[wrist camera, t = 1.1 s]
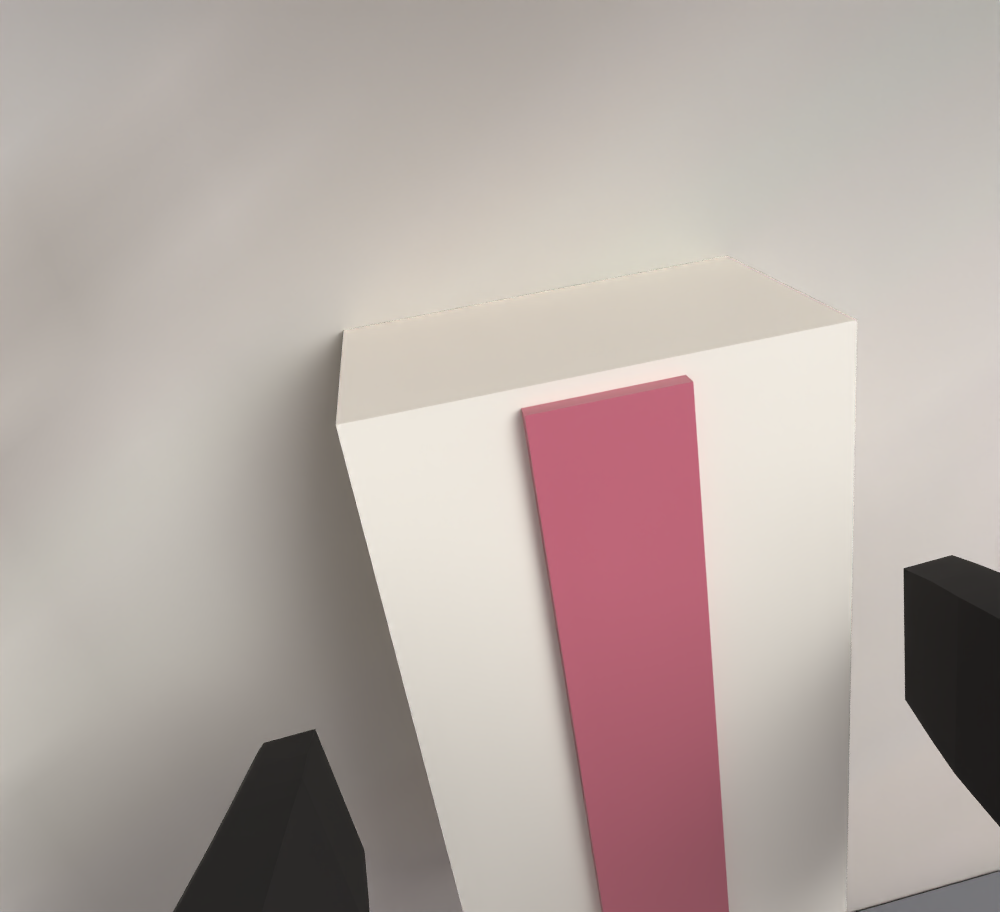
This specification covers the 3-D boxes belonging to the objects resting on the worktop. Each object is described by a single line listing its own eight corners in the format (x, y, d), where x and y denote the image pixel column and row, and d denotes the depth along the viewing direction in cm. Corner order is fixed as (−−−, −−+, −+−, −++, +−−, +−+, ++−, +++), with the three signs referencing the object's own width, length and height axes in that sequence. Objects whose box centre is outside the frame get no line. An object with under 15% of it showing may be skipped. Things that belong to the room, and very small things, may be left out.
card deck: (719, 251, 11) (868, 325, 8) (745, 760, 15) (853, 955, 12) (343, 324, 11) (334, 433, 8) (466, 825, 15) (496, 1045, 11)
